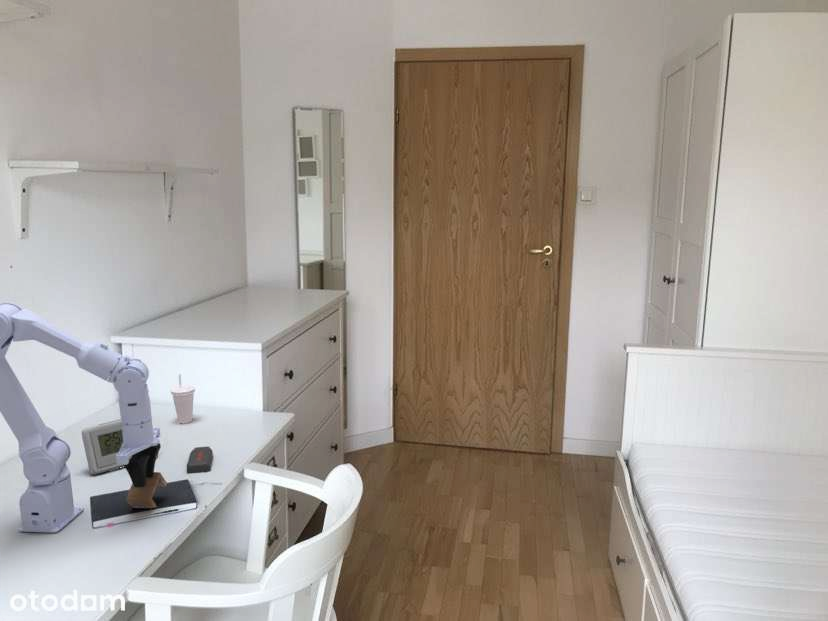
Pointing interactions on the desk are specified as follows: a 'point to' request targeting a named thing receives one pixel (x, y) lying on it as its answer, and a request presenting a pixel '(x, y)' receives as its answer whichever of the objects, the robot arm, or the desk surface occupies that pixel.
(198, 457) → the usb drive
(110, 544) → the desk surface
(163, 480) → the open wooden box
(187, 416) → the smoothie
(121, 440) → the digital clock
